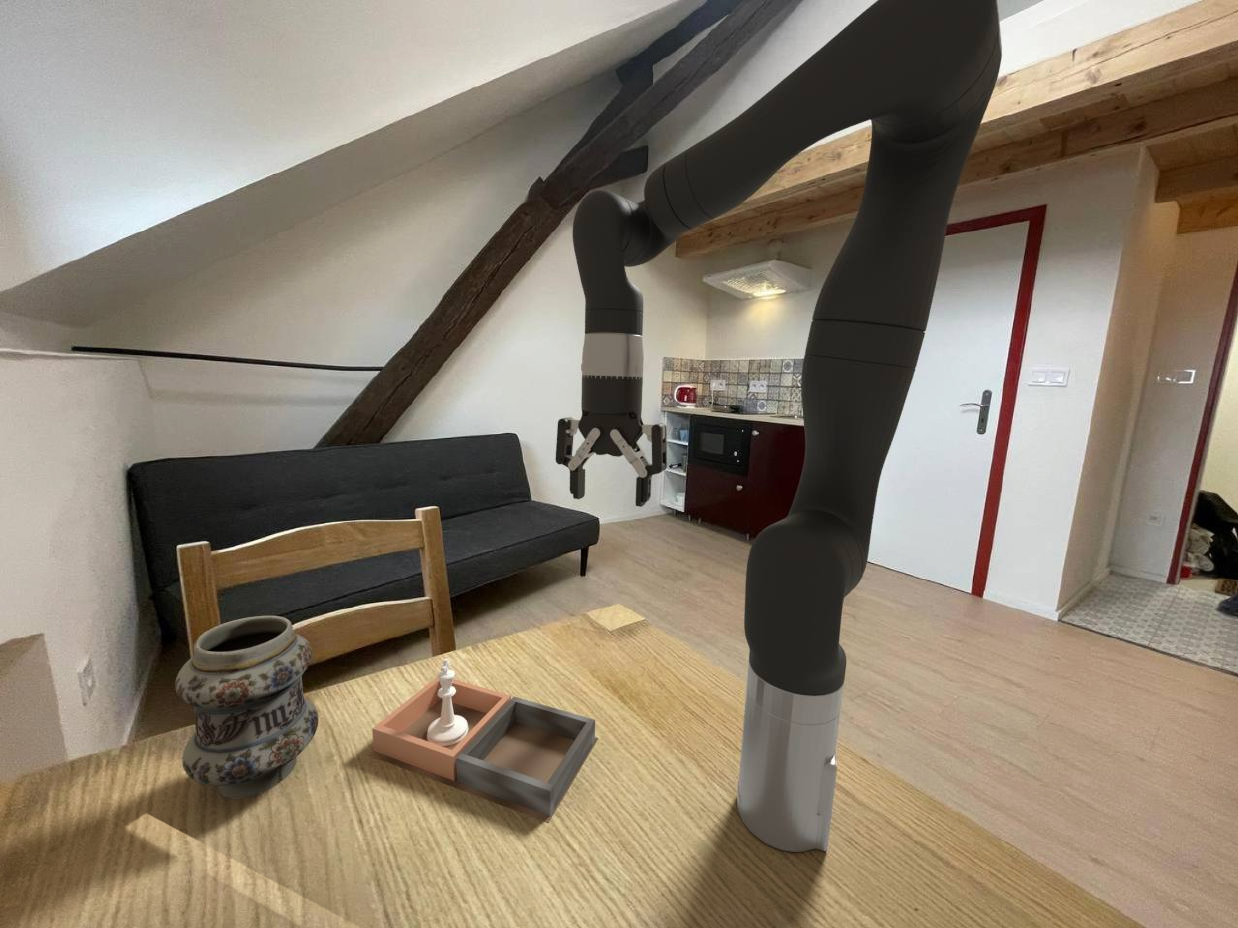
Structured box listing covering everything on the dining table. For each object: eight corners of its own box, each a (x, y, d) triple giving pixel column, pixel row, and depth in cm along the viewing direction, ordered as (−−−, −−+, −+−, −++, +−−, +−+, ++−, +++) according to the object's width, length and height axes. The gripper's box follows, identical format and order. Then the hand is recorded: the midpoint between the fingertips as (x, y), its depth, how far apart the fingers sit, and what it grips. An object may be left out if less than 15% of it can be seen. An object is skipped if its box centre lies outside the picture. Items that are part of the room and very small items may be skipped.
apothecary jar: (330, 733, 64) (320, 601, 61) (309, 809, 53) (295, 653, 50) (215, 754, 60) (198, 614, 57) (166, 843, 49) (140, 674, 45)
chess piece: (474, 721, 65) (473, 650, 63) (458, 748, 60) (456, 673, 59) (438, 717, 66) (436, 646, 64) (419, 744, 61) (416, 668, 59)
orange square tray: (511, 715, 66) (511, 695, 66) (453, 780, 56) (453, 756, 55) (440, 694, 70) (439, 674, 70) (373, 750, 60) (372, 728, 59)
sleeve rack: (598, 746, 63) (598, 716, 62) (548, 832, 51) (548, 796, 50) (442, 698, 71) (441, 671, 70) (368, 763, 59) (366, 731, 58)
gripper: (676, 375, 63) (670, 501, 65) (573, 372, 67) (571, 489, 70) (660, 374, 56) (653, 515, 59) (546, 371, 61) (545, 501, 63)
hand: (609, 501), depth 64 cm, fingers open, 8 cm apart
